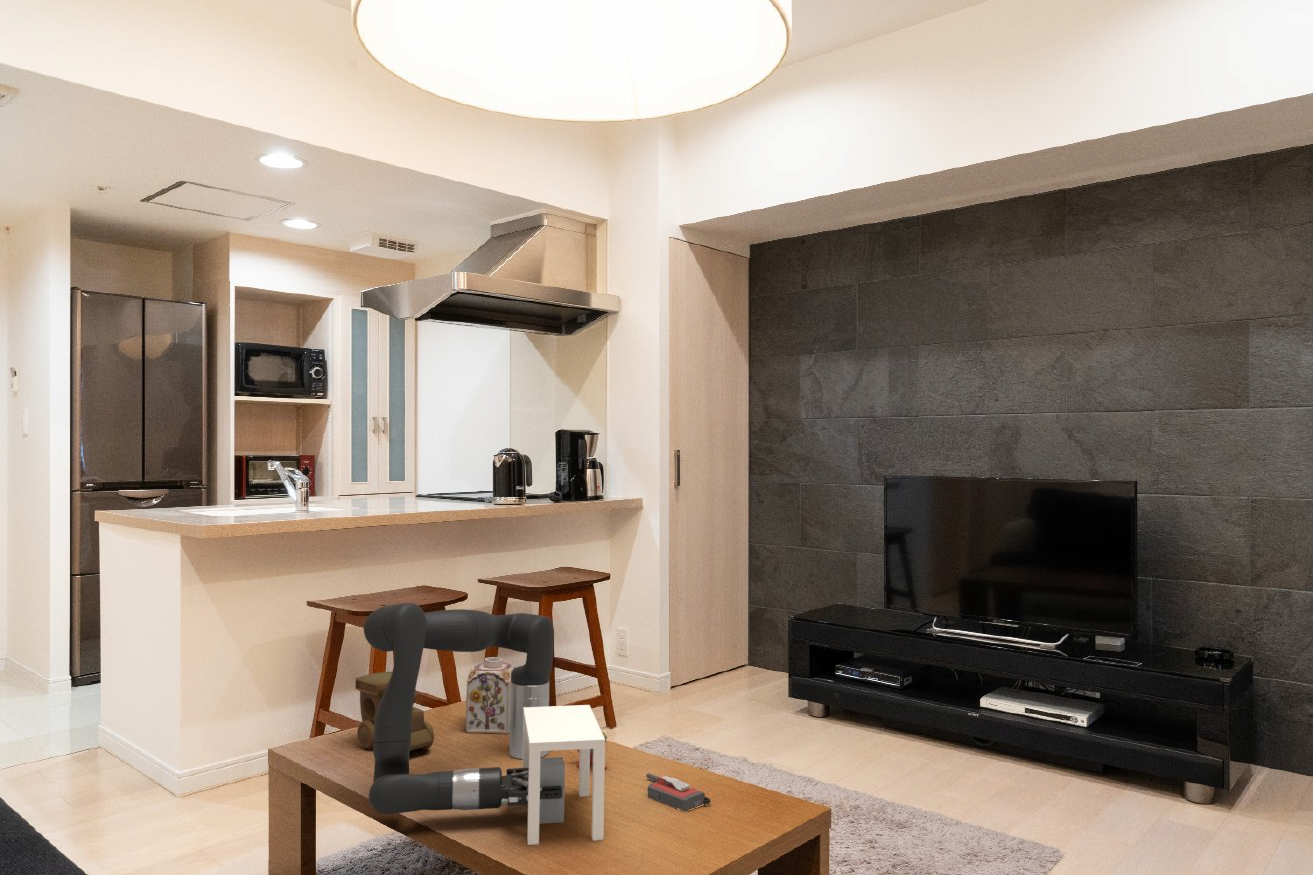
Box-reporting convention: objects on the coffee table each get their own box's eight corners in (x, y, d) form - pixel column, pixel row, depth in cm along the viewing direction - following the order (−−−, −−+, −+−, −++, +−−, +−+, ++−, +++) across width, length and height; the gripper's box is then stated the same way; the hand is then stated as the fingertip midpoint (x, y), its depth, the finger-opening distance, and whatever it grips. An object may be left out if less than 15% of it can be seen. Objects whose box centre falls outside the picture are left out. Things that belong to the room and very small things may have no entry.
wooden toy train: (350, 745, 221) (351, 677, 221) (390, 734, 230) (391, 669, 230) (398, 764, 208) (399, 691, 209) (438, 752, 217) (440, 682, 217)
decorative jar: (475, 720, 244) (476, 653, 244) (518, 721, 243) (519, 654, 244) (464, 733, 232) (465, 663, 232) (509, 734, 231) (510, 664, 232)
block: (536, 813, 180) (537, 758, 181) (561, 812, 181) (562, 756, 182) (538, 823, 175) (539, 766, 176) (563, 821, 176) (564, 765, 177)
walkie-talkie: (717, 805, 187) (650, 779, 201) (718, 783, 187) (650, 759, 202) (688, 816, 181) (621, 789, 195) (689, 794, 181) (621, 768, 195)
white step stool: (527, 844, 166) (529, 742, 166) (521, 796, 189) (523, 707, 190) (603, 839, 168) (605, 739, 169) (588, 792, 192) (589, 704, 192)
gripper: (477, 782, 169) (563, 777, 172) (477, 757, 183) (557, 753, 186) (476, 822, 169) (563, 817, 172) (476, 794, 183) (556, 789, 186)
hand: (560, 783), depth 179 cm, fingers open, 8 cm apart
